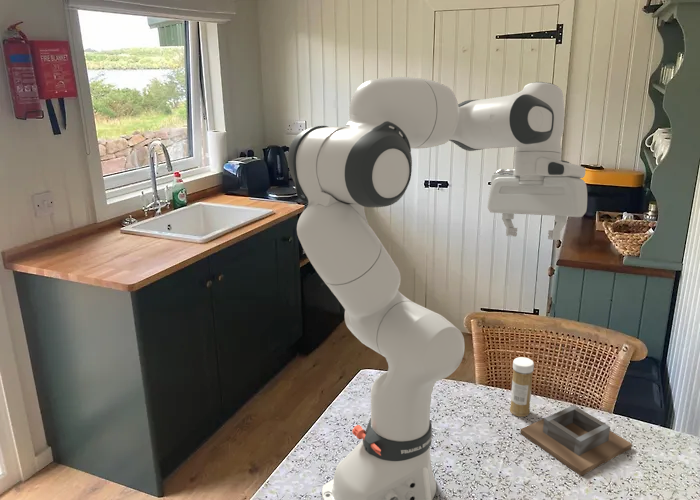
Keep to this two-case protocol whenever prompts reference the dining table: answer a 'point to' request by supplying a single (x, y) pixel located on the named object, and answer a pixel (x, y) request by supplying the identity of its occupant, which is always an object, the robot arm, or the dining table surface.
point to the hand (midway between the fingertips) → (531, 237)
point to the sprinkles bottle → (521, 386)
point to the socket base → (576, 439)
